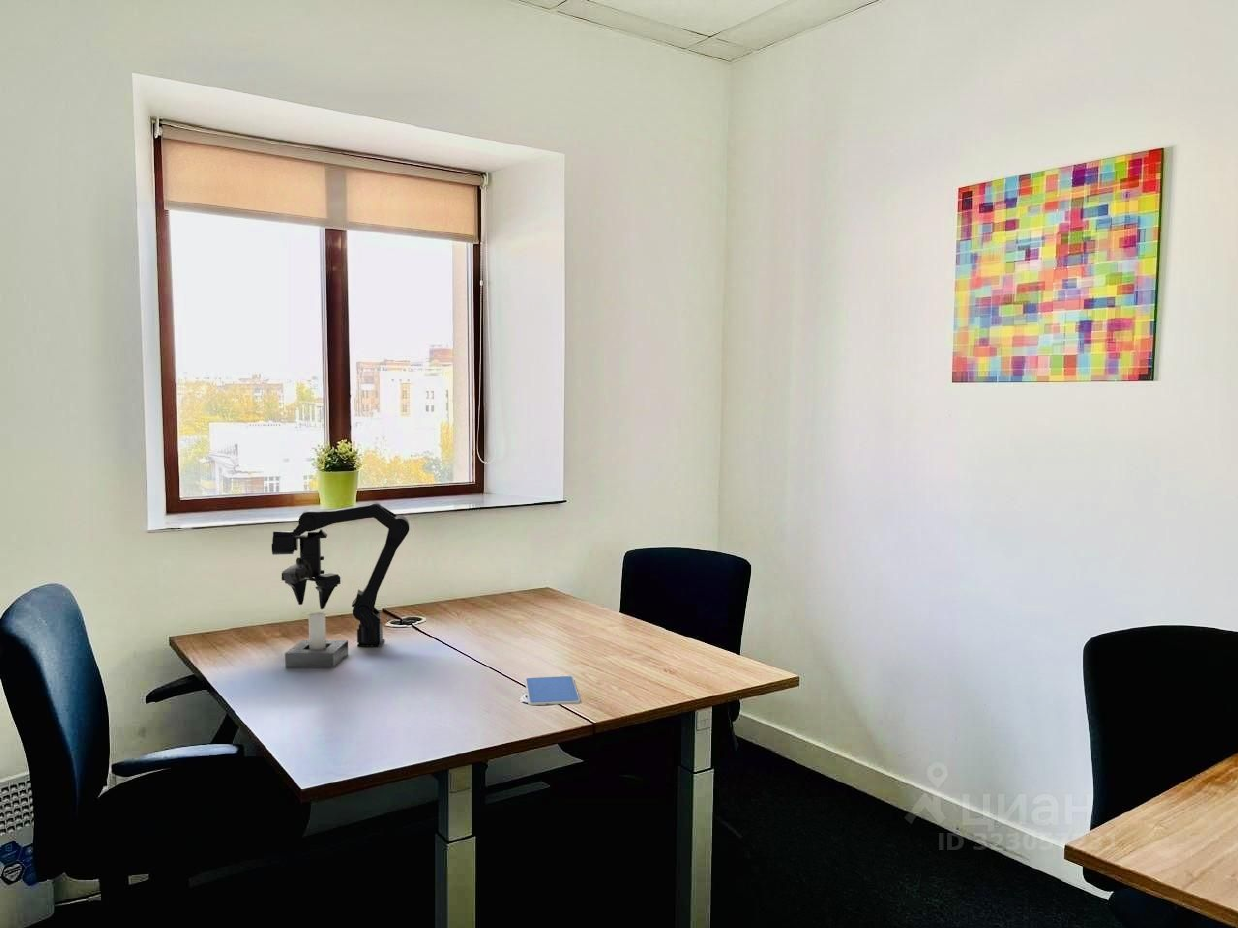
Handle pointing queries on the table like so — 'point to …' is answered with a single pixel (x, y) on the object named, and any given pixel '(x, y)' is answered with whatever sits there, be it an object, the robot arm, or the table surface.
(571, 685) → the tablet computer
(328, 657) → the collar
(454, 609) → the table surface
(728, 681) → the table surface
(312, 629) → the peg
